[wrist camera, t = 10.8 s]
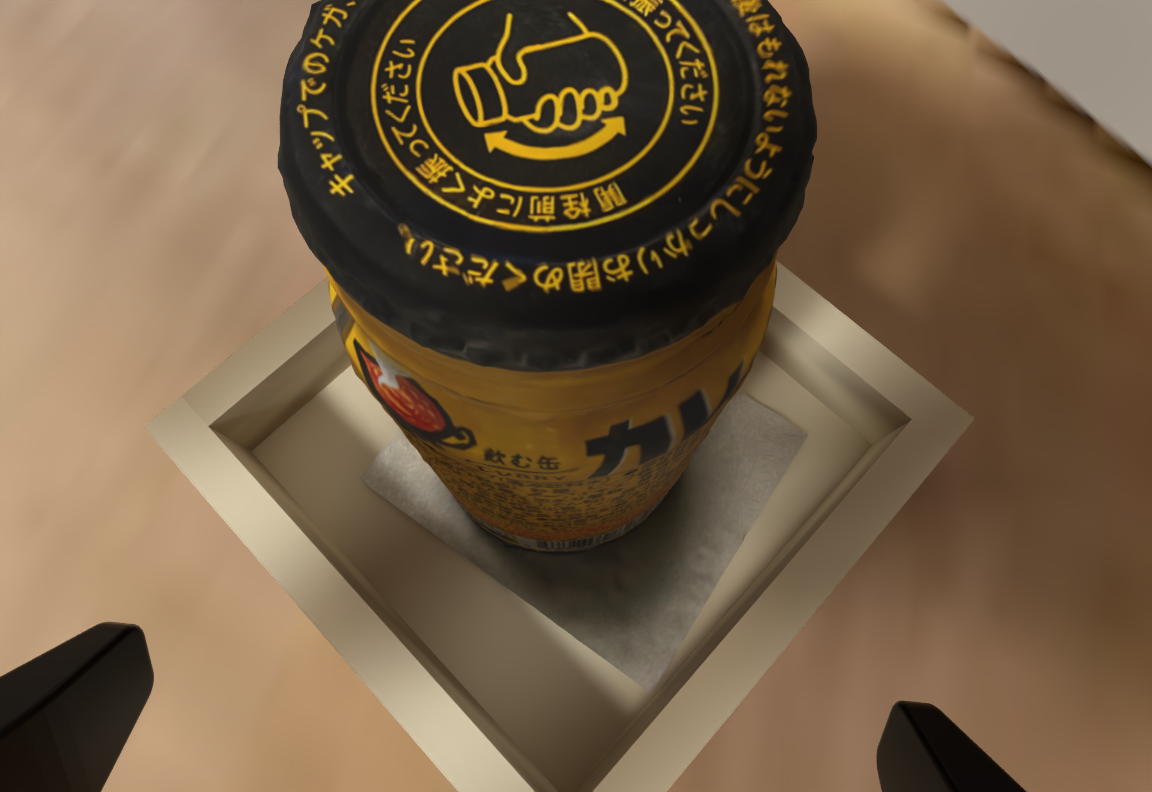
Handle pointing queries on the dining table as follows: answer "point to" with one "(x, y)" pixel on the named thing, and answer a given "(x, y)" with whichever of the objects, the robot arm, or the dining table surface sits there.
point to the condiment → (560, 281)
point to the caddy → (497, 615)
